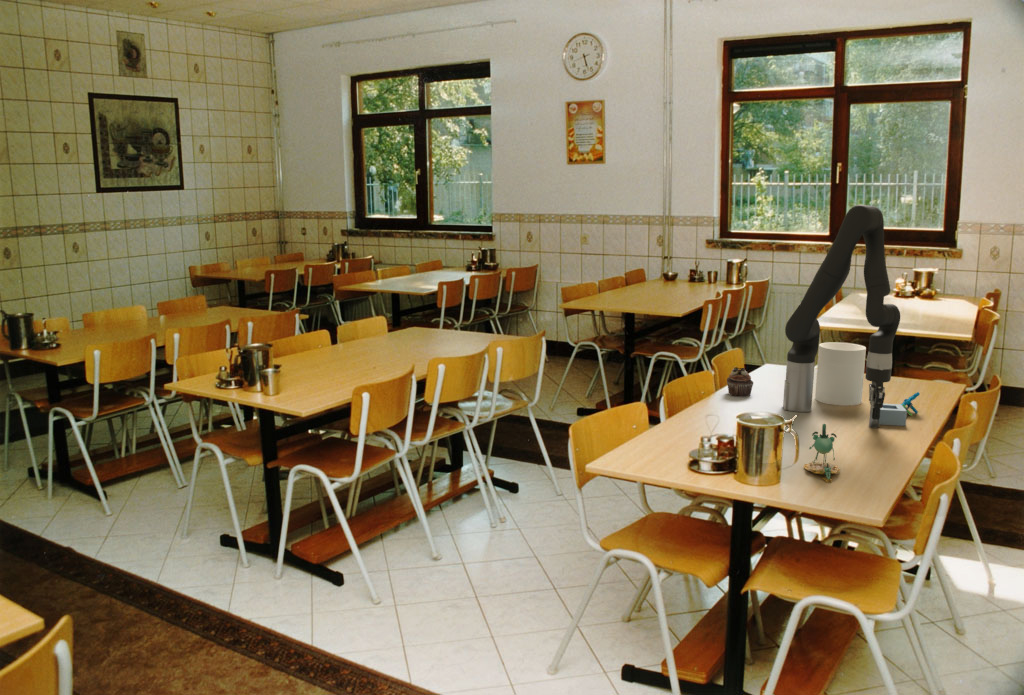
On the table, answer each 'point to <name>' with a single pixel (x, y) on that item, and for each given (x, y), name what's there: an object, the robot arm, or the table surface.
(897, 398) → the table surface
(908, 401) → the teal lobed toy
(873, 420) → the pin
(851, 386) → the canister
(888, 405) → the socket block
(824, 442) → the frog figurine
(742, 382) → the cupcake
